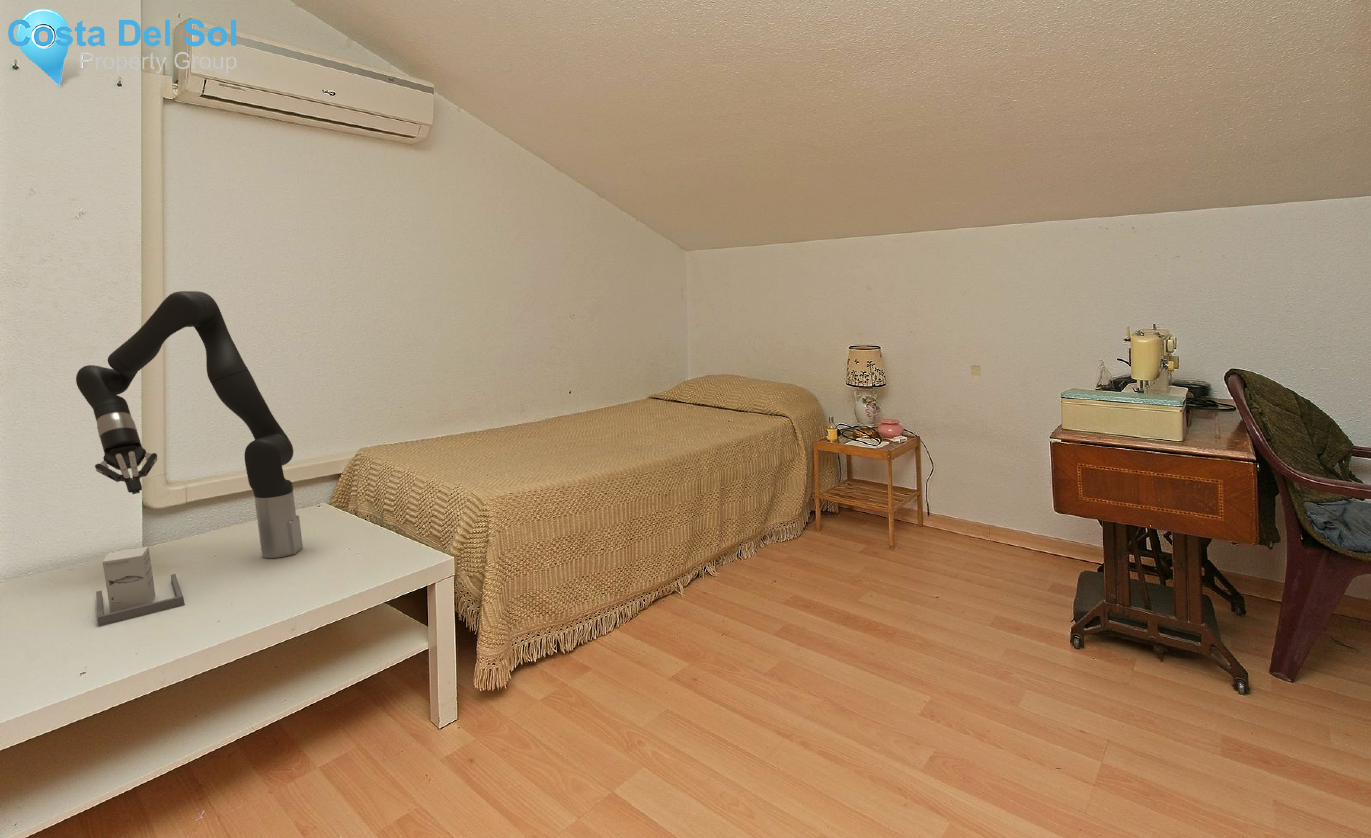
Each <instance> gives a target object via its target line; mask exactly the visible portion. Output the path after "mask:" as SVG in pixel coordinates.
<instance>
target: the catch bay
mask: <svg viewBox="0 0 1371 838" xmlns="http://www.w3.org/2000/svg"><path fill="white" fill-rule="evenodd" d="M170 581H171V585H172V589H173V591H174V594H175V596H174V597H170V598H165V599H163V600H158V601H154V602H153V601H152V603H149V604H145V605H141V606H137V607H133V608H128V609H124V610H120V611H116V612H112V613H110V612H109V613H105V610H104V609H105V608H104V607H105V606H104V605H105V604H104V597H103V591H102V590H96V592H95V596H96V597H95V598H96V599H95V601H96V621H97V625H98V627H101V626H105V625H109V624H114V623H117V622H122V621H125V620H129V619H134V618H139V617H141V616H145V614H146V615H150V614H153V613H157V611H158V612H161V611H165V610H170V609H174V608H177V607H181V606H185V598H184V594H183V592H182V589H181V586H180V583H179V580H178V577H177V575H176V573H173V574H170Z"/></svg>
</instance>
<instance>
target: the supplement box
mask: <svg viewBox="0 0 1371 838" xmlns="http://www.w3.org/2000/svg"><path fill="white" fill-rule="evenodd" d="M151 562H152V560H151V554H150V546H144V547H143V546H142V547H136V548H130V549H123V550H115V551H109V553H108V554H107V555H106V556H105V557H104V559H103V560H102V567H103V575H104V580H105V587H106V593H107V599H108V603H109V613H112V612H116V611H120V610H124V609H128V608H133V607H137V606H141V605H145V604H149V603H153V601H154V599H155V596H156V591H155V583H154V575H153V569H152V563H151Z"/></svg>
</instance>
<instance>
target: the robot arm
mask: <svg viewBox="0 0 1371 838" xmlns="http://www.w3.org/2000/svg"><path fill="white" fill-rule="evenodd" d="M191 327H193V328H194V329H195V331H196V332H197V334H198V335H199V336H198V337H200V340H201V341H202V343H203V346H204V350H205V357H206V358H205V359H206V374H207V378H208V380H209V382H210V384H211V385H212V388H213V390H214V391H215V394H216V395H217V397H218V398H219V399H220V401H221V402H222V403H223V404H224V405H225V406H226V408H228V409H229V410H230V411H231V412H232V413H233V414H235V415H236V416H237V417H238V418H239V419H240V420H242V421H243V422H244V424H246V426H247V428H248V429H249V431H250V433H251V434H252V437H253V438H254V440H252V441H250V442H249V444H247V446H246V447H245V449H244V465H245V470H246V476H247V480H248V485H249V487H250V489H251V490H252V492H253V497H254V505H255V512H256V520H257V521H256V522H257V528H258V536H259V543H260V544H259V545H260V551H261V555H262V557H263V558H265V559H278V558H279V559H280V558H283V557H287V556H293V555H296V554H298V553H299V551H301V549H303V547H304V546H303V536H302V528H301V519H300V515H299V514H298V515H297V512H296V503H295V496H294V487H293V482H292V481H291V480H289V479H286V477H285V475H284V470H283V469H284V468H283V466H286V465H287V464H288V463H290V461H291V460H292V459H293V458H294V457H293V456H294V447H293V444H292V442H291V439H289V437H288V435H287V434H286V433H285V431H284V430H283V428H282V427H281V425H280V424H279V423H278V421H277V419H276V417H274V415H273V414H272V411H271V410H270V408H269V406H268V403H267V402H266V400H265V398H264V396H263V395H262V393H261V392H260V390H259V388H258V385H257V382H256V381H255V379H254V377H253V376H252V374H251V372H250V370H249V368H248V366H247V365H246V363H245V362H244V360H243V359H244V358H242V356H241V354H240V352H239V350H238V348H237V346H236V344H235V343H234V340H233V339H232V337H231V334H230V332H229V329H228V327H227V325H226V322H225V319H224V316H223V315H222V312H221V310H220V307H219V306H218V304H217V302H216V299H214V298H213V297H212V296H211V295H209V294H208V293H206V292H203V291H195V290H193V291H192V290H190V291H189V290H182V291H181V290H180V291H173V292H171V294H169V295H168V296H167V297H165V298H164V300H163V301H162V302H161V303H160V304H159V306H158V307H157V308H156V310H155V311H154V312H153V313H152V315H150V317H149V318H148V319H147V321H145V323H144V324H143V325H142V326H141V327H140V328H139V329H138V330H137V331H136V332H135V333H134V334H132V335H131V336H130V337H129V338H128V339H127V340H126V341H125V342H123V343H122V344H121V345H120V346H118V347H117V348H116V349H115V350H113V351H112V352H111V354H110V355H109V356H108V358H107V363H108V365H109V367H110V368H108V367H104V366H99V365H95V364H94V365H91V364H88V365H85V366H82V367H81V368H80V369H79V370H78V371H77V373H76V377H75V380H76V381H75V383H76V386H77V389H78V390H79V392H80V393H81V395H82V396H83V398H84V399H85V401H86V402H87V403H88V404H89V406H90V407H91V408H92V410H93V414H94V419H95V421H96V427H97V433H98V437H99V439H100V442H101V443H100V444H101V446H102V449H103V452H104V454H103V455H104V456H103V457H102V458H103V460H102V461H101V462H99V463H96V464H95V465H94V469H95V471H96V472H97V473H99V474H101V475H103V476H105V477H107V478H109V479H111V480H112V481H114V482H116V483H119V482H124V483H125V486H126V490H127V492H128V493H131V494H132V495H137V494H140V493H141V492H140V491H143V486H142V483H141V478H142V477H144V478H145V477H147V476H148V474H149V473H150V471H151V470H152V468H153V467H154V466H155V464H156V462H157V461H158V453H155V452H154V453H150V452H147V450H146V449H145V448H144V447H143V445H142V443H141V439H140V436H139V433H138V429H137V425H136V423H135V421H134V419H133V417H132V415H131V411H130V408H129V404H128V402H127V400H126V399H125V398H124V397H122V396H120V395H121V394H123V393H124V392H126V391H127V390H128V389H129V387H130V385H131V383H132V382H133V380H134V378H135V377H136V375H137V374H138V373H139V371H141V370H142V369H143V368H144V367H146V366H147V365H148V364H149V363H150V362H152V361H153V360H154V359H155V357H156V356H157V355H158V353H159V352H160V350H161V348H162V346H163V344H164V343H165V341H167V339H168V338H170V337H171V336H172V335H174V334H176V333H177V332H178V331H180V330H183V329H184V328H191ZM144 459H145V463H144V465H143V466H142V468H141V469H140V470H138V468H139V466H140V465H141V464H142V462H143V461H144ZM109 466H110V467H112V468H114V469H116V470H118V471H120V473H118V472H116V471H114V470H112V469H110V467H109ZM128 469H130V470H131V474H130V473H129V470H128ZM131 475H132V477H131Z"/></svg>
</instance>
